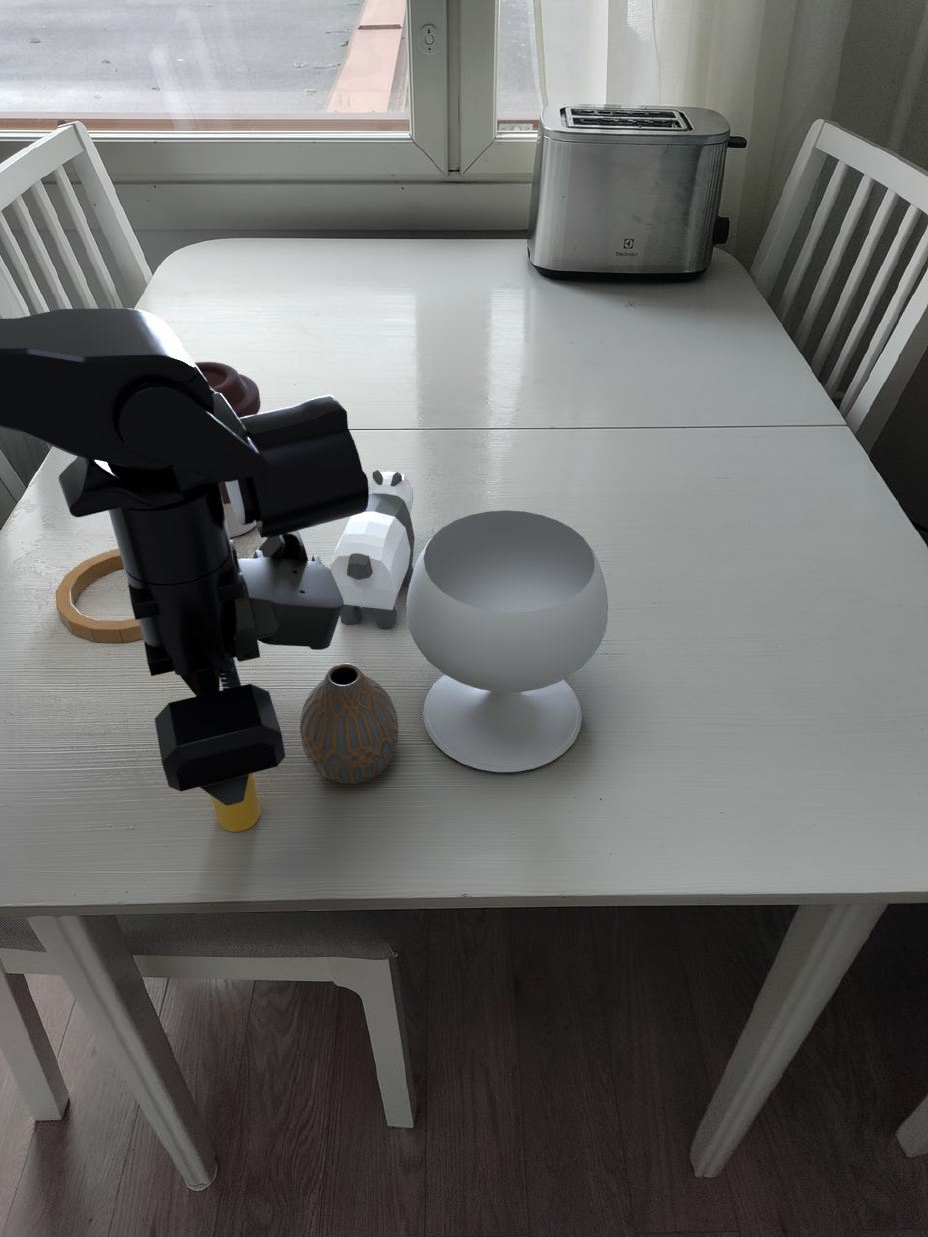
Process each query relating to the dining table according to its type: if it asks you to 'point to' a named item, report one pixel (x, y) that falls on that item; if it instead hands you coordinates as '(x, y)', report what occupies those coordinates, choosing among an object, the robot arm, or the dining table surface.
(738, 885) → the dining table surface
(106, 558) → the wooden ring
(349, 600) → the giant panda
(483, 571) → the chalice
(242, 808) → the pencil stub
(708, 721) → the dining table surface
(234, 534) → the coffee cup
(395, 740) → the vase
